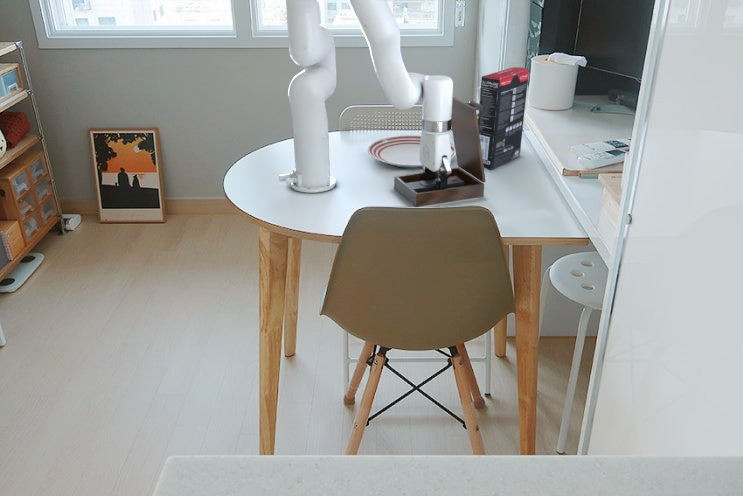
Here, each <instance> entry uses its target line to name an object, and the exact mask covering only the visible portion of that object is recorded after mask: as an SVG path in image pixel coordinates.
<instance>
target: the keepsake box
mask: <svg viewBox="0 0 743 496" xmlns="http://www.w3.org/2000/svg"><path fill="white" fill-rule="evenodd" d="M450 168H451V174H450V176H449V177H452V176H457V177H458V178H460V179H461V180H463V181H464V186H461V187H454V188H448V189H441V190H434V191H428V192H421V193H417V192H416V191H415V190H413V189H412V188H411V187H410V186H408V185H407V184H406V183H410V182H417V181H423V172H424V171H422V172H421V171H420V172H415V173H408V174H401V175H394V177H393V189H394V190H395V191H396V192H398V194H399V195H401V196H402V197H403V198H405V199H406V200H407V201H408V202H409V203H410V204H411V205H412V206H414V207H415V208H421V207H427V206H433V205H440V204H445V203H447V204H448V203H452V202H458V201H459V202H460V201H464V200H472V199H478V198H483V197H484V194H485V183H483V182H481V181H480V180H478V179H477V178H475V177H474V176H472V175H471V174H469V173H468V172H466V171H465V170H463V169H462V168H460V167H459V166H457V167H450ZM443 173H444V171H443V172H440V176H441V175H442V174H443ZM435 179H437V176H436V172H435Z"/></svg>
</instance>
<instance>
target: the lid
mask: <svg viewBox="0 0 743 496" xmlns="http://www.w3.org/2000/svg"><path fill="white" fill-rule="evenodd" d="M476 110H478V111H482V110H483V105H481V104H479V103H477V101H474V100H470V101H469V102H468V103H466V102H464V101H462V100H460V99H457V98H456V97H454V96H453V98H452V125H451V132H452V137H453V145H454V146H455V151H456V155H455V158H456V163H457V167H459V168H461V169H462V170H464V171H465V172H467V173H468V174H470V175H471V176H473V177H474V178H476V179H477V180H479V181H480V182H482V183H483V184H485V183H486V173H485V167H484V165H483V158H482V150H481V143H480V135H479V127H478V120H477V112H476Z"/></svg>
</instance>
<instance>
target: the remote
mask: <svg viewBox="0 0 743 496" xmlns="http://www.w3.org/2000/svg"><path fill="white" fill-rule="evenodd" d="M436 181H437V179H431V180H424V181H417V182H410V183H406V184H407V185H408V186H410V187H411V188H412V189H413V190H415V191H416V192H417V193H421V192H428V191H434V190H435V189H436ZM461 186H464V181H463V180H461V179H460V178H458V177H457V176H452V177H449V180H448V184H447V189H448V188H454V187H461Z"/></svg>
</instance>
